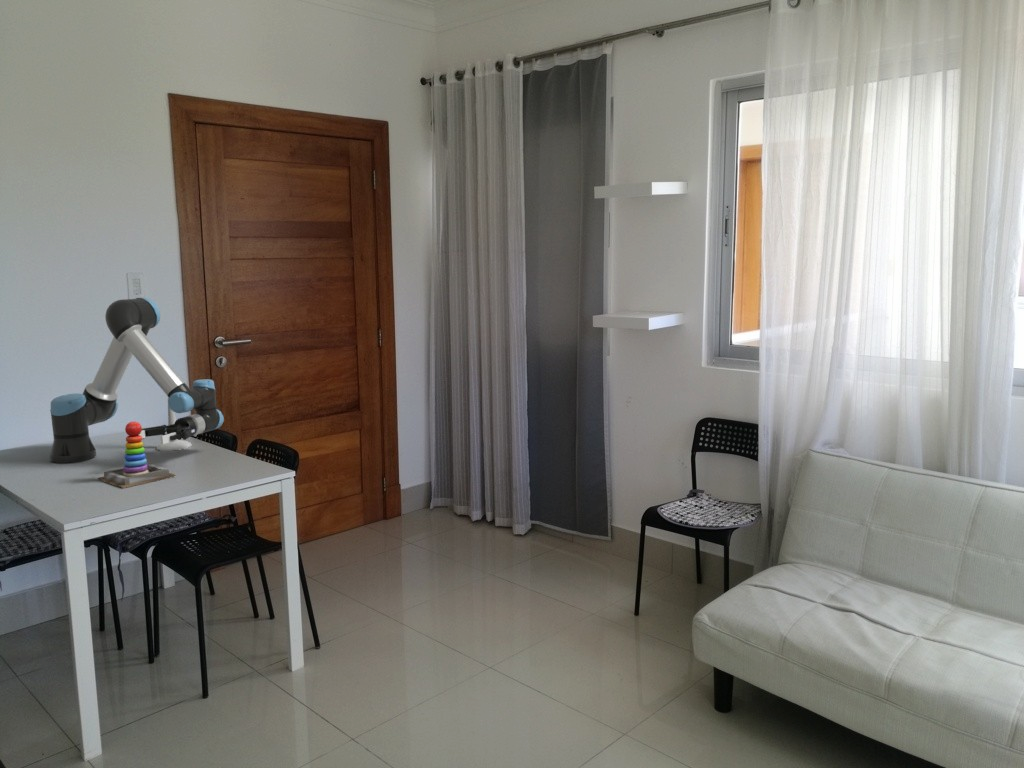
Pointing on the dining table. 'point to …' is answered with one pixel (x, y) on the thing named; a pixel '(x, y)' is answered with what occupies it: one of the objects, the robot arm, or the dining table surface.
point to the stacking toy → (134, 451)
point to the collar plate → (123, 482)
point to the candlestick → (177, 443)
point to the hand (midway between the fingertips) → (145, 439)
